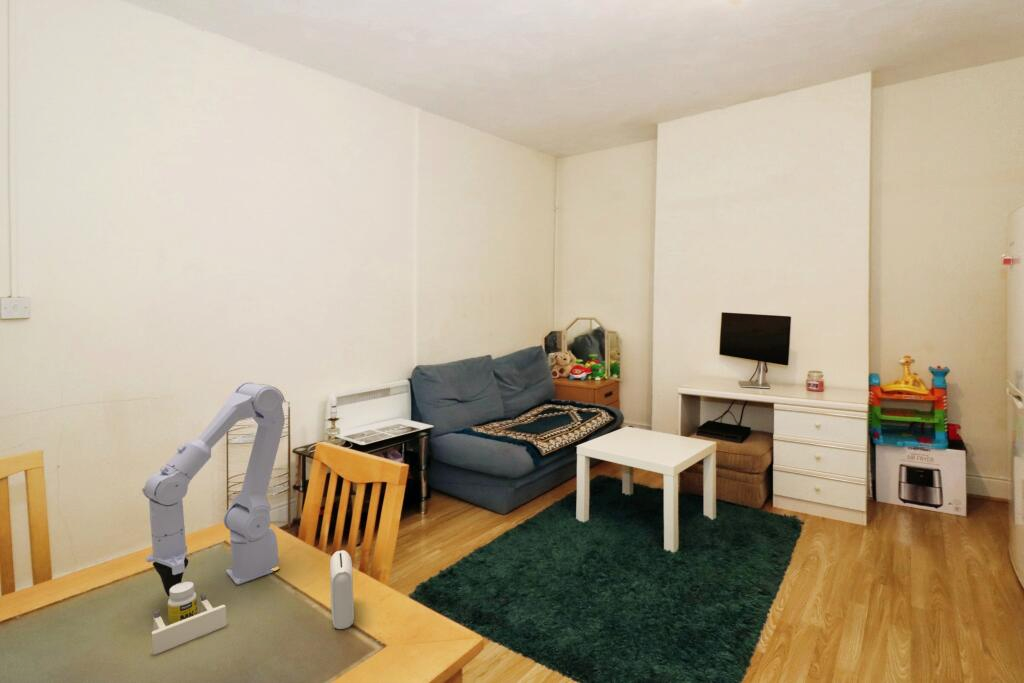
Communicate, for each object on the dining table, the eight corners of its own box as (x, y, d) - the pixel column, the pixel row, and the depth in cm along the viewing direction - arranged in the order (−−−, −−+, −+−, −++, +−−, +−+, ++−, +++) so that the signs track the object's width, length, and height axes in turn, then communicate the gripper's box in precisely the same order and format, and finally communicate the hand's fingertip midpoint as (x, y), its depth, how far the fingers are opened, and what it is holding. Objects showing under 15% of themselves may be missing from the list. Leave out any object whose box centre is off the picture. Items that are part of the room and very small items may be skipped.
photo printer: (330, 602, 111) (328, 546, 110) (352, 598, 113) (350, 543, 112) (332, 632, 102) (329, 571, 101) (355, 627, 103) (353, 567, 102)
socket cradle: (214, 608, 109) (213, 589, 109) (226, 625, 104) (225, 606, 103) (145, 634, 101) (143, 614, 101) (154, 655, 95) (152, 634, 95)
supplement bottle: (181, 638, 100) (179, 596, 99) (163, 633, 102) (160, 591, 101) (203, 623, 105) (201, 582, 104) (185, 618, 106) (183, 578, 105)
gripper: (137, 525, 111) (142, 586, 112) (152, 549, 100) (157, 617, 102) (176, 515, 116) (180, 574, 117) (194, 537, 105) (199, 601, 107)
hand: (172, 593), depth 110 cm, fingers closed
